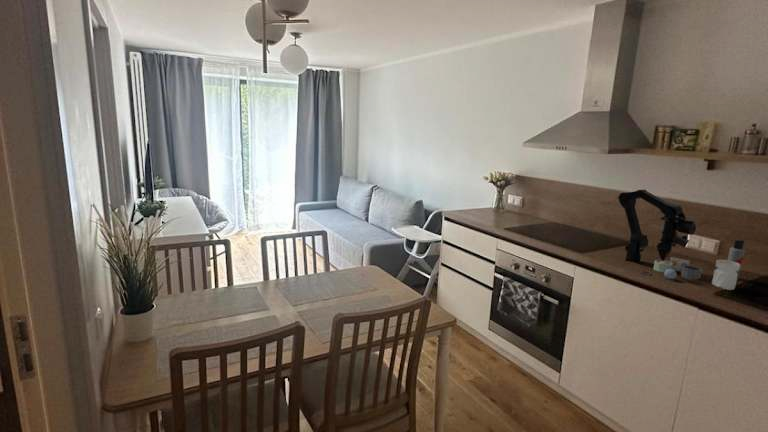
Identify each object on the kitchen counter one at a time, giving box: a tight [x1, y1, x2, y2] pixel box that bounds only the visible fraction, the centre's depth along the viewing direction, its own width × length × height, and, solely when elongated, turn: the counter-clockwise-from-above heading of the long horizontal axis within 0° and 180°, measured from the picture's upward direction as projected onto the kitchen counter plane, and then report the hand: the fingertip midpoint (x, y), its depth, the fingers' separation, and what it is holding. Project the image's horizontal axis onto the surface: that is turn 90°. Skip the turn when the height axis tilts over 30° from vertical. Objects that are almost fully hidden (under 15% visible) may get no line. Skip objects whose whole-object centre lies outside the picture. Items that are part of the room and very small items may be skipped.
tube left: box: [653, 259, 673, 274], centre depth 213 cm, size 8×8×5 cm
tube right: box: [680, 264, 703, 280], centre depth 205 cm, size 8×8×5 cm
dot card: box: [669, 256, 690, 273], centre depth 212 cm, size 8×1×7 cm, turn 47°
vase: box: [711, 259, 740, 291], centre depth 194 cm, size 9×9×12 cm
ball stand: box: [640, 270, 676, 282], centre depth 205 cm, size 16×6×1 cm, turn 47°
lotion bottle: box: [727, 238, 746, 280], centre depth 204 cm, size 6×6×20 cm
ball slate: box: [663, 269, 677, 279], centre depth 201 cm, size 5×5×5 cm
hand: (664, 258), depth 212 cm, fingers open, 9 cm apart
